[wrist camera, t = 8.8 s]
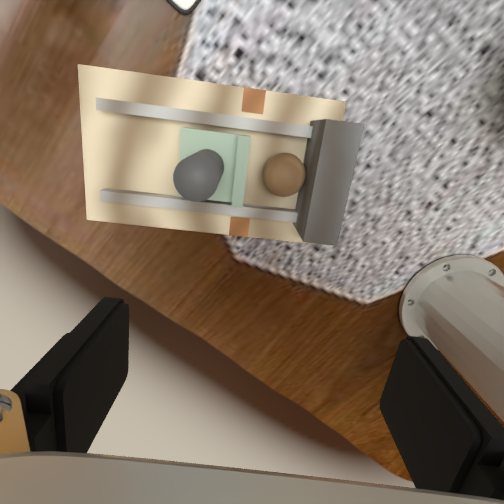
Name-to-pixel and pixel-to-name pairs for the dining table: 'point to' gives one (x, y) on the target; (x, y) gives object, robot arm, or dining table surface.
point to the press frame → (220, 120)
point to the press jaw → (212, 166)
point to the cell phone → (184, 5)
